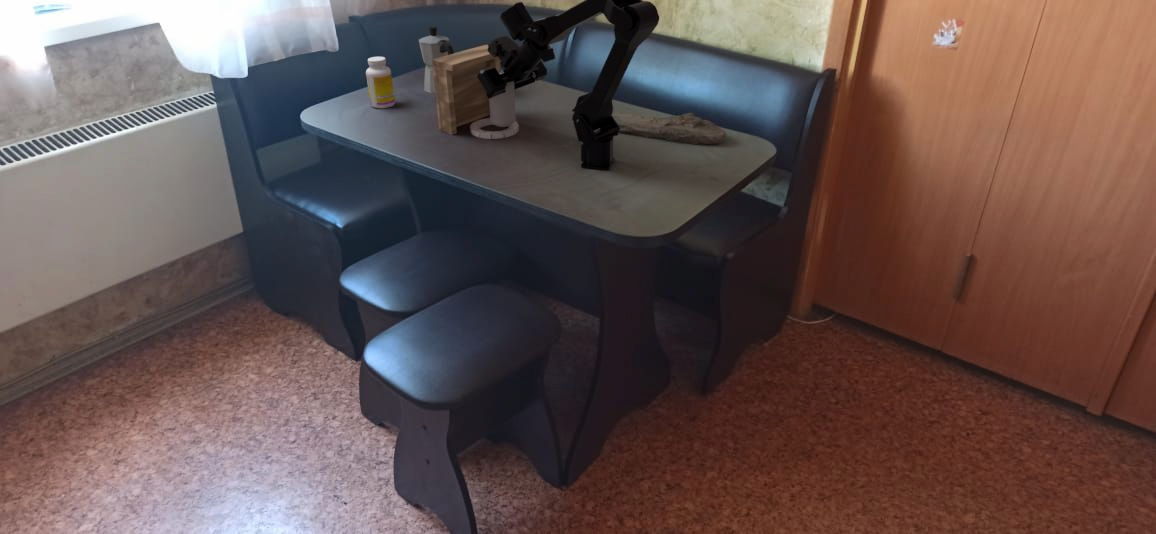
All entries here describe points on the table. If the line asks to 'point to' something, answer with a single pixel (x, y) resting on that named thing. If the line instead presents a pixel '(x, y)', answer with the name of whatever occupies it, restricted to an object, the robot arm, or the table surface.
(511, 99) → the beverage can
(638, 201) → the table surface
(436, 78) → the wooden tray
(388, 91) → the supplement bottle
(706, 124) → the elongated rock
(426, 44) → the coffee maker
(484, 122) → the socket ring
